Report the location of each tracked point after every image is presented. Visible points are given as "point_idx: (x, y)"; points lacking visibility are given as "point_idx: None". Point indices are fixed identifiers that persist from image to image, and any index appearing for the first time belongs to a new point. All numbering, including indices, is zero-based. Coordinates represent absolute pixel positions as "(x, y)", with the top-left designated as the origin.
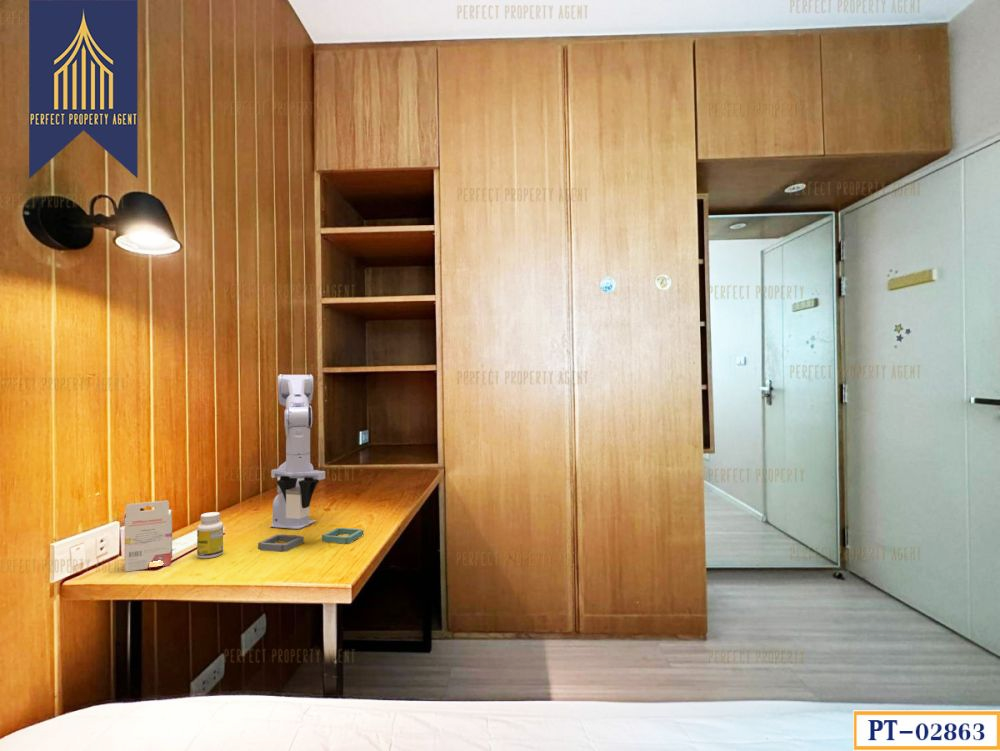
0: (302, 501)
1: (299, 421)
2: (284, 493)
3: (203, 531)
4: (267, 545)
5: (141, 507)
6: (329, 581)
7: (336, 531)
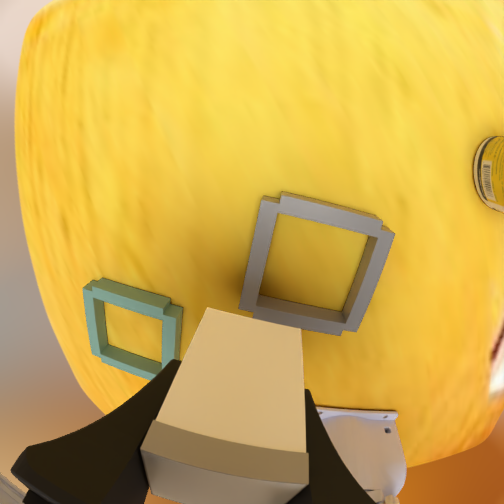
0: (164, 386)
1: None
2: (326, 461)
3: None
4: (348, 211)
5: None
6: (57, 9)
7: (163, 362)
